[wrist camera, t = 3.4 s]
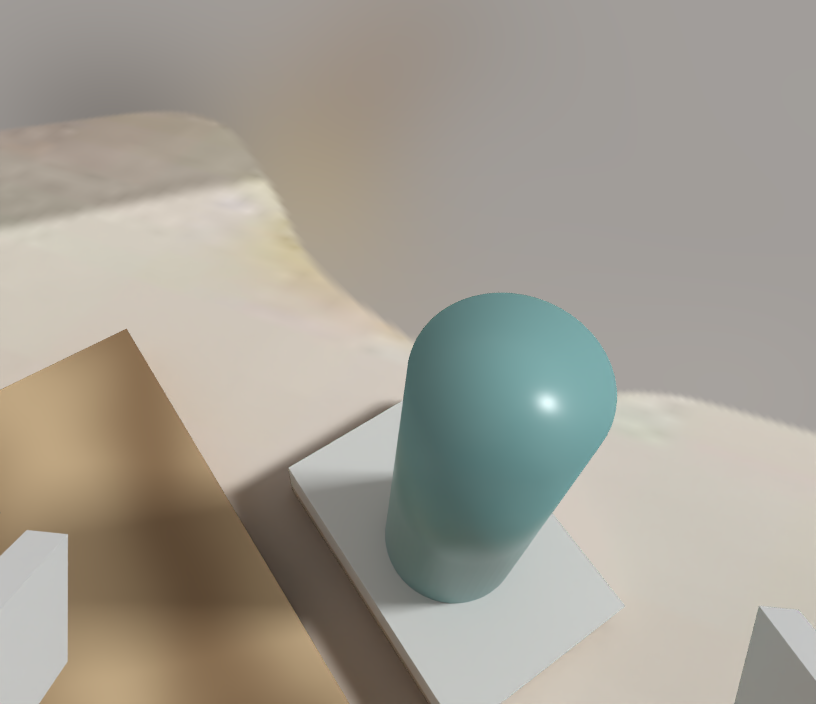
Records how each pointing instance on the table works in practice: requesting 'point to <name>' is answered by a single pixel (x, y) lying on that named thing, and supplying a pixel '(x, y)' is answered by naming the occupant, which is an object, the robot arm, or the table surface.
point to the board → (145, 545)
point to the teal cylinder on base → (473, 498)
